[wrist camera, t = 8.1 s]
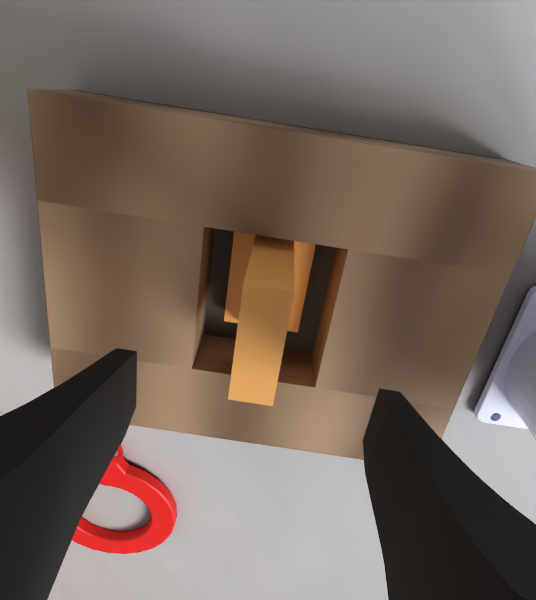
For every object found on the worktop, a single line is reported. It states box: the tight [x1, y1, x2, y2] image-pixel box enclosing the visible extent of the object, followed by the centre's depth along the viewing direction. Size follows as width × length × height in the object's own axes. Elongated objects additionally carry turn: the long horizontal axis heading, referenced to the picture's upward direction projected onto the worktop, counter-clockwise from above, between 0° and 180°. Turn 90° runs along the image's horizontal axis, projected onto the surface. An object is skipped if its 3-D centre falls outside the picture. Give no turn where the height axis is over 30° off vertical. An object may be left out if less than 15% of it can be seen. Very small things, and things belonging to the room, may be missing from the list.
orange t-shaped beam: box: [224, 231, 316, 406], centre depth 17 cm, size 4×4×6 cm
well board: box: [27, 90, 536, 460], centre depth 19 cm, size 18×14×4 cm
